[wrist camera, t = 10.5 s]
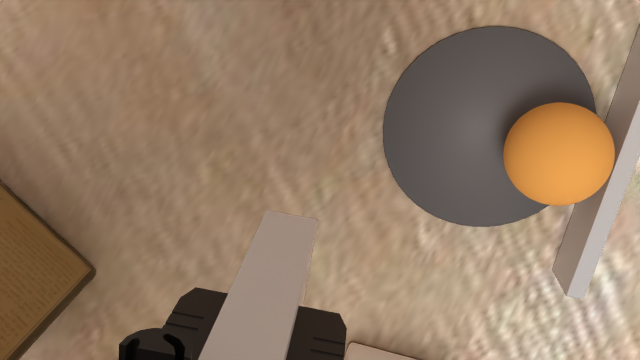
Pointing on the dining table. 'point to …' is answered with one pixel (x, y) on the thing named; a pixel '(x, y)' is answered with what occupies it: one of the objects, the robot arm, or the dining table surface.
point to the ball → (559, 154)
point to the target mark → (473, 120)
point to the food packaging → (33, 276)
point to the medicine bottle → (370, 353)
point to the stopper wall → (603, 187)
